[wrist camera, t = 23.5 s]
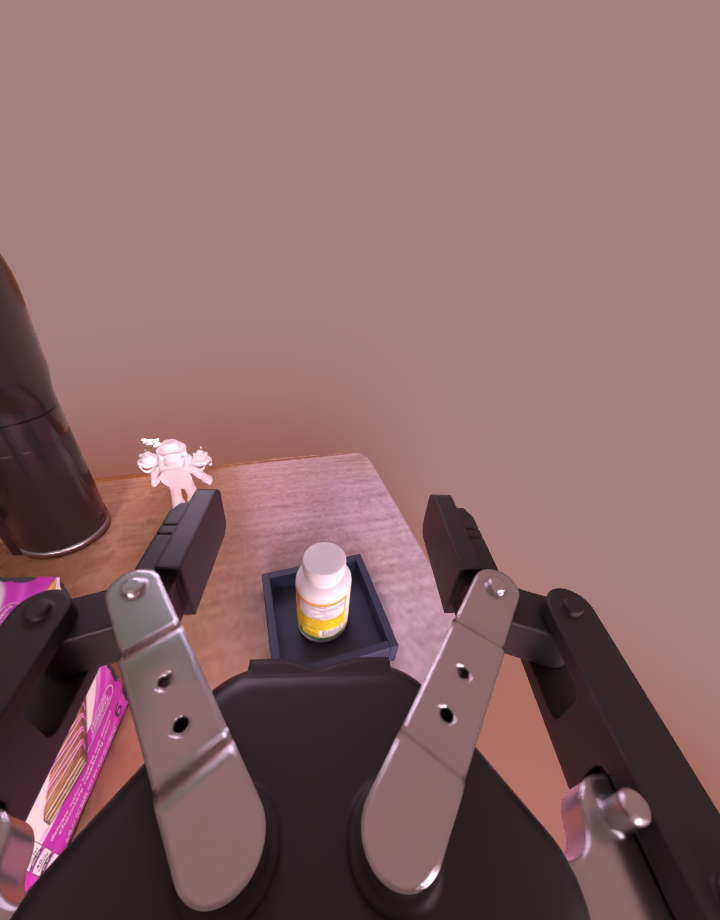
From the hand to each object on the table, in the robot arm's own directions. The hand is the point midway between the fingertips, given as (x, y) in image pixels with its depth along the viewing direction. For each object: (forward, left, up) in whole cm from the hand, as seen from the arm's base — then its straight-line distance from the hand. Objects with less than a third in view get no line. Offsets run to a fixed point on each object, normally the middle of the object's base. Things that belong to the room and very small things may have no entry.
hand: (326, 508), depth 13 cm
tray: (+3, +11, -26) cm, 28 cm away
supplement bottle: (+3, +11, -26) cm, 28 cm away
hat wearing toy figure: (-12, +34, -26) cm, 44 cm away
